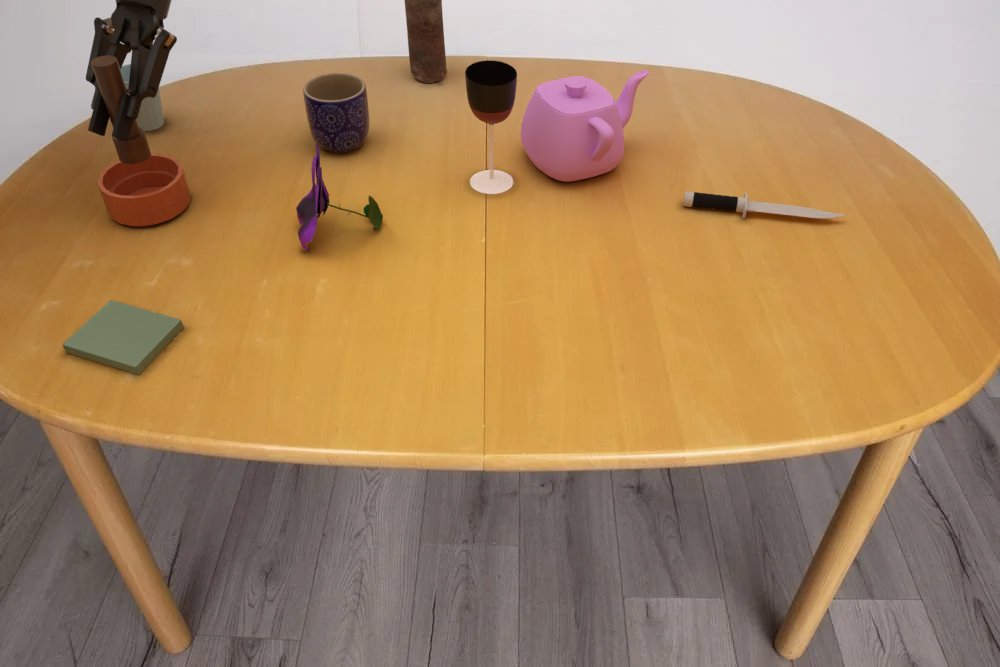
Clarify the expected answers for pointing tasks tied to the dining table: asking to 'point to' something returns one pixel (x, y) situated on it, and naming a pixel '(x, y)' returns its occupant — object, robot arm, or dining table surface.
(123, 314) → the board
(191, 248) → the dining table surface
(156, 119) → the cup
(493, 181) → the wineglass
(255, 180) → the dining table surface
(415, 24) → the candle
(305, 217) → the flower
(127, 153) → the pestle
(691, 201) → the knife
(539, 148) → the teapot
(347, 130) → the planter
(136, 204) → the bowl
